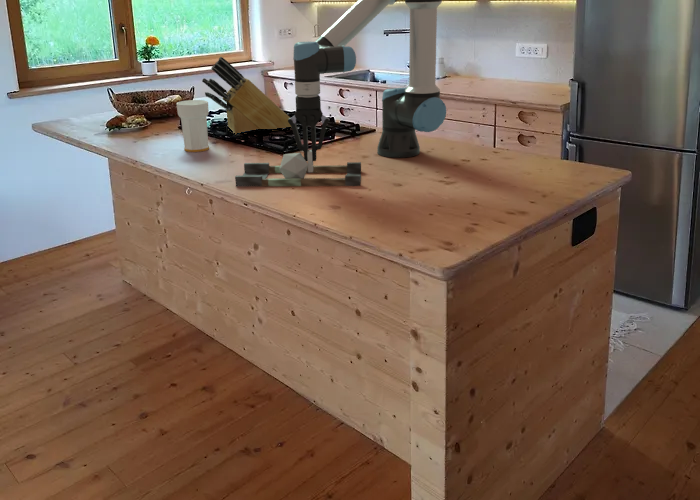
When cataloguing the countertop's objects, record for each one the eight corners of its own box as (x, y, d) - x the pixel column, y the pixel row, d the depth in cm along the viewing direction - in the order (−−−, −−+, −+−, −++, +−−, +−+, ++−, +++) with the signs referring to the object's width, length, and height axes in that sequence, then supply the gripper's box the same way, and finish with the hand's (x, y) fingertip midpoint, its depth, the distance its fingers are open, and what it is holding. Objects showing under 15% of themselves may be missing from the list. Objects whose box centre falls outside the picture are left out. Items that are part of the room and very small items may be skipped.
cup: (218, 147, 261) (214, 101, 255) (197, 154, 252) (192, 105, 246) (196, 144, 267) (192, 99, 260) (174, 150, 258) (169, 103, 251)
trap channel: (361, 171, 227) (361, 162, 225) (360, 185, 211) (360, 176, 210) (245, 171, 228) (244, 162, 227) (235, 186, 212) (235, 176, 211)
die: (301, 186, 213) (315, 156, 214) (275, 173, 211) (288, 144, 212) (298, 189, 221) (311, 160, 222) (272, 176, 220) (285, 148, 221)
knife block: (205, 133, 287) (198, 55, 276) (286, 125, 300) (283, 51, 289) (212, 138, 277) (205, 58, 266) (295, 129, 290) (292, 53, 279)
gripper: (285, 97, 206) (288, 174, 215) (328, 96, 206) (330, 174, 215) (287, 93, 213) (291, 168, 222) (330, 93, 213) (332, 168, 222)
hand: (310, 171), depth 218 cm, fingers closed
